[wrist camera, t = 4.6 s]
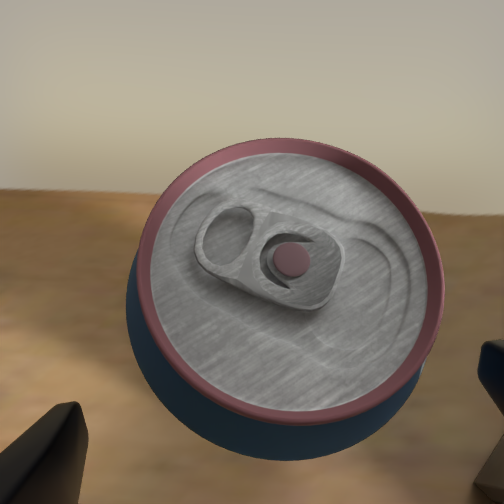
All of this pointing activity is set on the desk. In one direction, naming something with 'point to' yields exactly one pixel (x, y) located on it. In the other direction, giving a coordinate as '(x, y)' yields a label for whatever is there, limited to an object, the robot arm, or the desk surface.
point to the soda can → (284, 298)
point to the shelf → (493, 475)
